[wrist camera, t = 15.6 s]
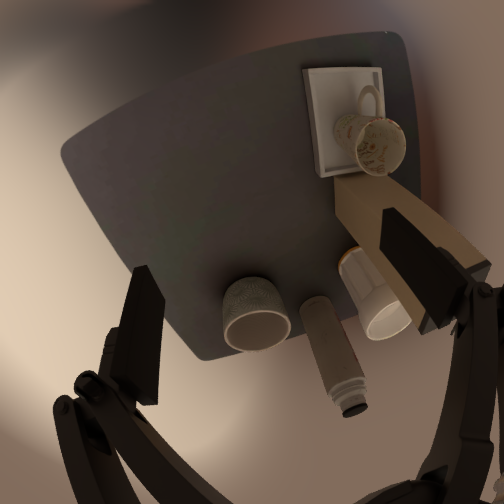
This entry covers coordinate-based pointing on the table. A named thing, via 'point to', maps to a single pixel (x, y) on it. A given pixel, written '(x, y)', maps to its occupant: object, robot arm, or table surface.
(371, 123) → the mug
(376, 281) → the cup
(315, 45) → the table surface
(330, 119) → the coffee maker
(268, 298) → the planter
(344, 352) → the thermos bottle
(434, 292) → the robot arm
